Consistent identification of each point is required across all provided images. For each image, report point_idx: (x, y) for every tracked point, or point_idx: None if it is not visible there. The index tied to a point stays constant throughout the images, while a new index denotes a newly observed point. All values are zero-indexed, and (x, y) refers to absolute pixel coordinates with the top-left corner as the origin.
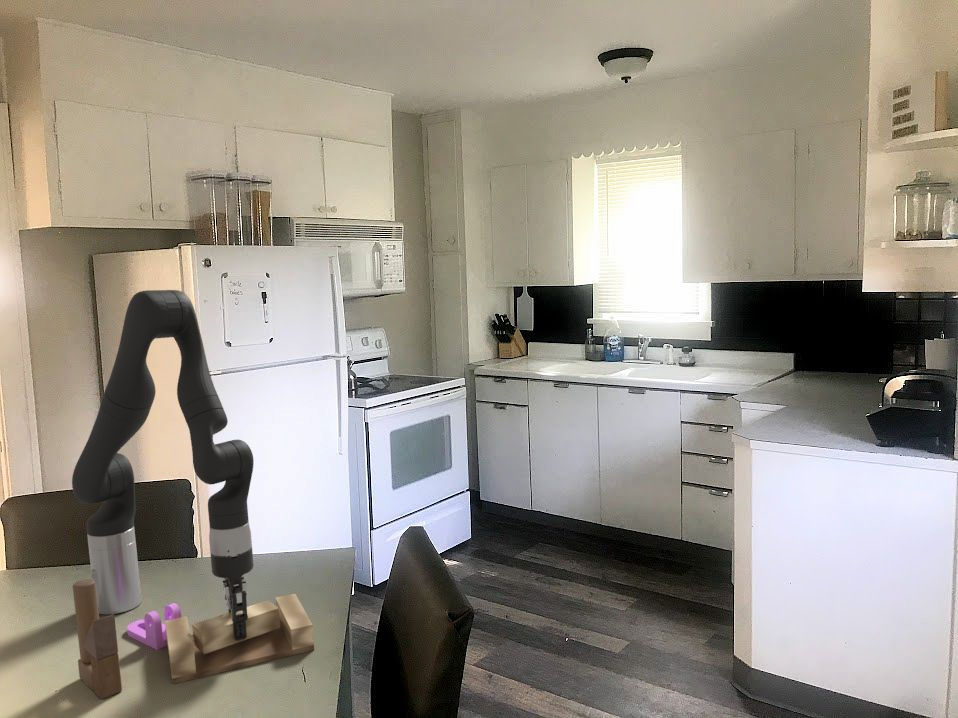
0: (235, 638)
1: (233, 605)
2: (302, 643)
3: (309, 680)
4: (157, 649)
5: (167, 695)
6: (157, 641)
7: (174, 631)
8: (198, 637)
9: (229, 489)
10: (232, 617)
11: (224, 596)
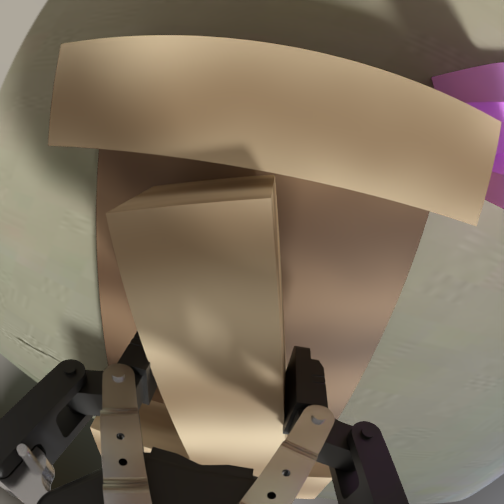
0: None
1: (3, 417)
2: None
3: (19, 344)
4: (432, 79)
5: None
6: (447, 78)
7: (346, 102)
8: (181, 194)
9: None
10: (104, 380)
11: (295, 455)
